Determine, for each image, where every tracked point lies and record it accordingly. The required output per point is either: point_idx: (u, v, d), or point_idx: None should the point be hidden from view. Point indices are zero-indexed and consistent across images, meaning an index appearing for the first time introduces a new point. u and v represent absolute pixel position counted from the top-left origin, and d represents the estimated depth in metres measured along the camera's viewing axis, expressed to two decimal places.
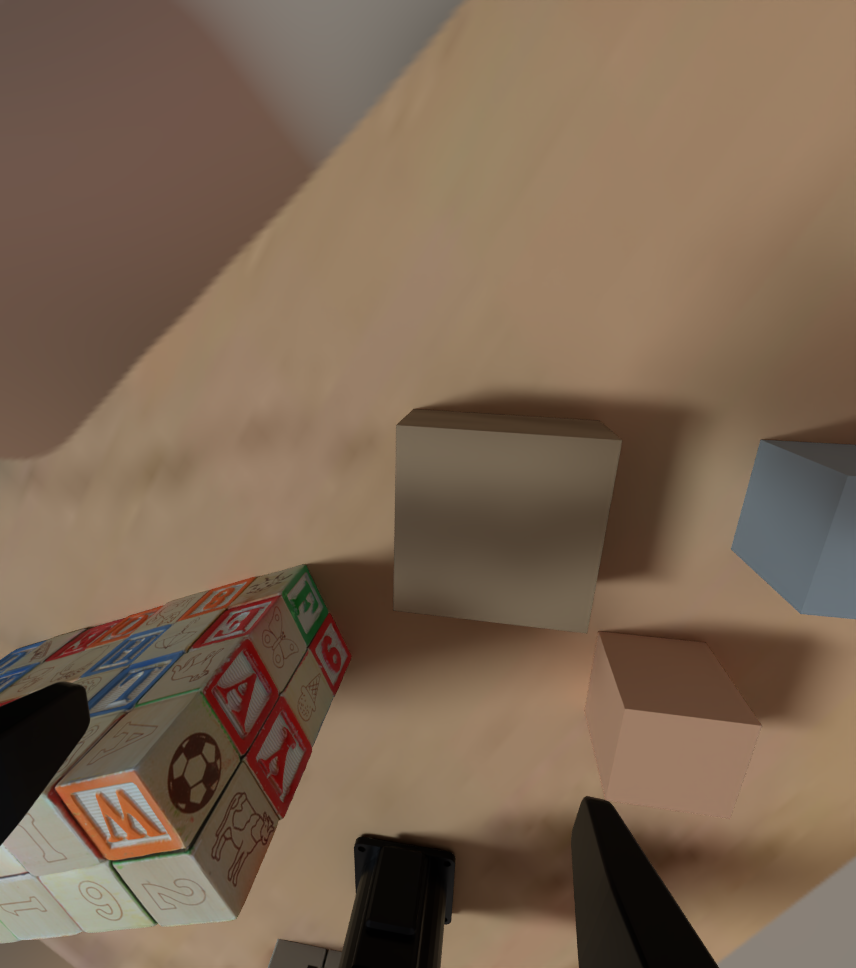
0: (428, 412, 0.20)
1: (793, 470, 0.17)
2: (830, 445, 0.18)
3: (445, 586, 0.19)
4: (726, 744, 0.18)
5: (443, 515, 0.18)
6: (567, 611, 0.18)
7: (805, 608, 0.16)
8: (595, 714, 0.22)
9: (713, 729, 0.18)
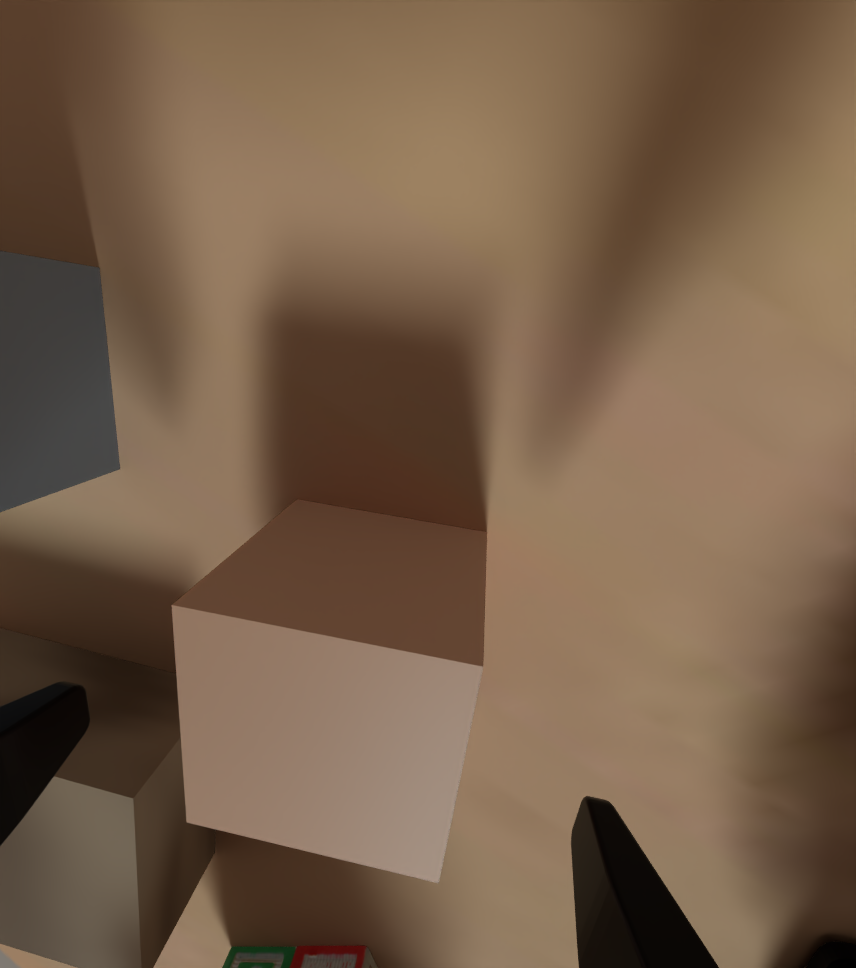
0: None
1: None
2: None
3: (92, 929, 0.13)
4: (238, 670, 0.07)
5: None
6: (99, 814, 0.11)
7: None
8: None
9: (202, 691, 0.08)
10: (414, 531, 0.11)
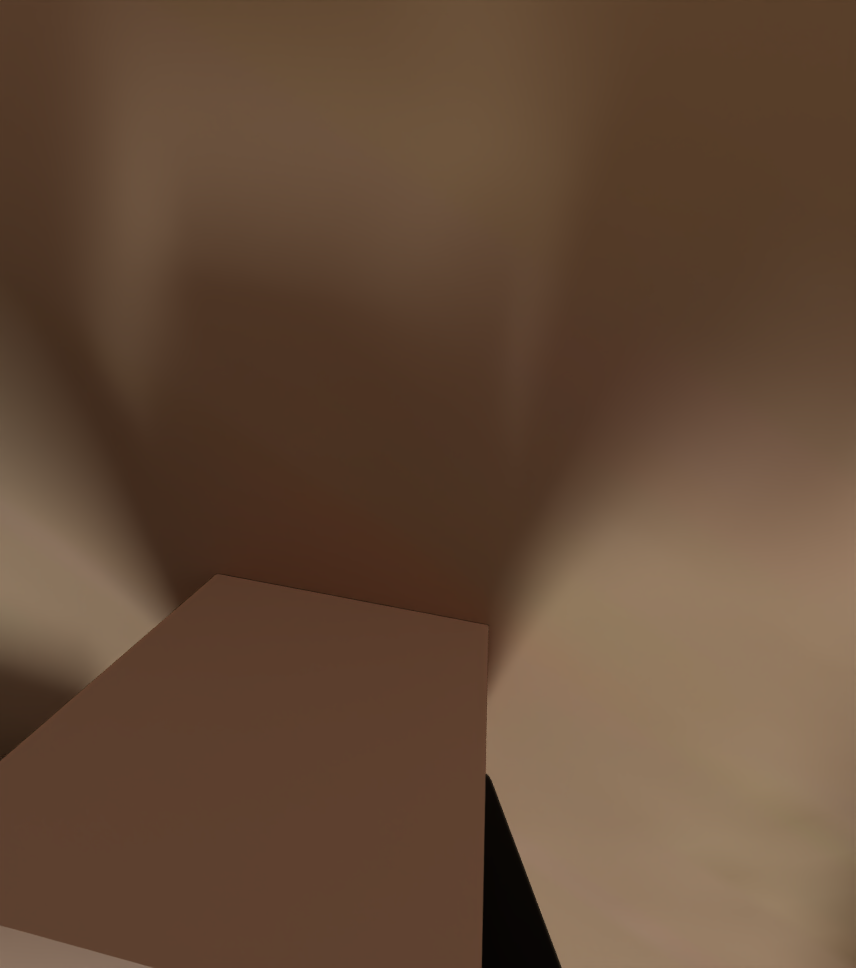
0: None
1: None
2: None
3: None
4: None
5: None
6: None
7: None
8: None
9: None
10: (379, 633, 0.07)
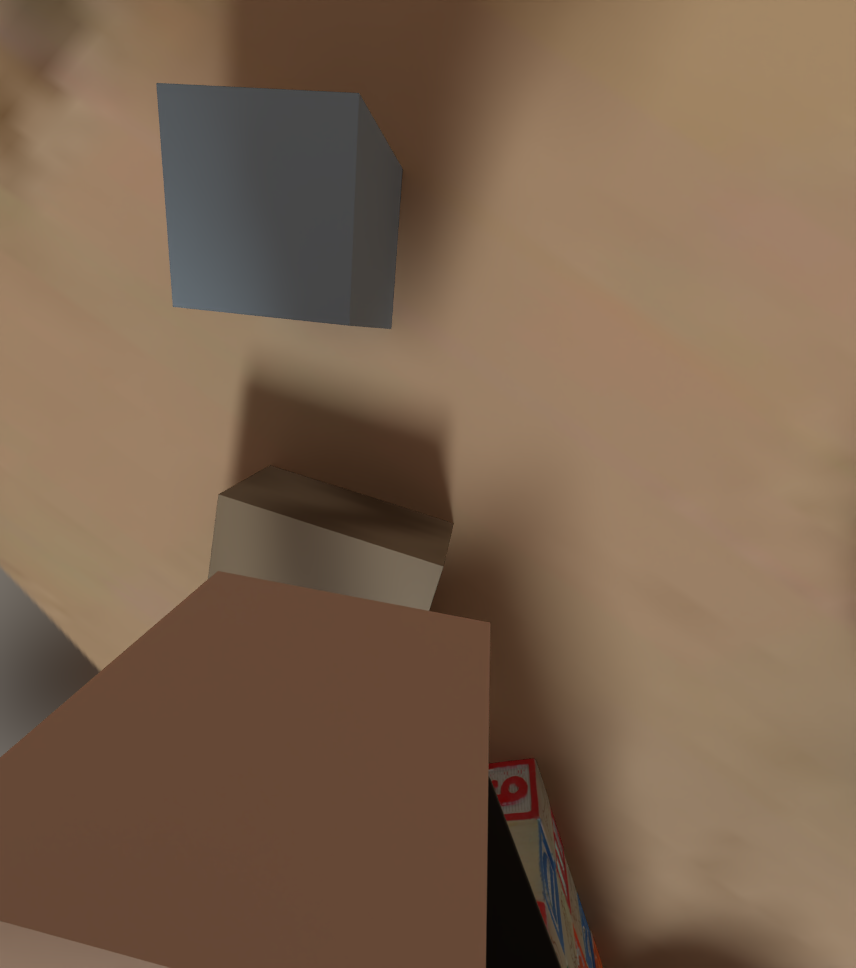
0: None
1: None
2: None
3: None
4: None
5: None
6: (410, 580, 0.15)
7: (342, 320, 0.12)
8: None
9: None
10: (381, 630, 0.07)
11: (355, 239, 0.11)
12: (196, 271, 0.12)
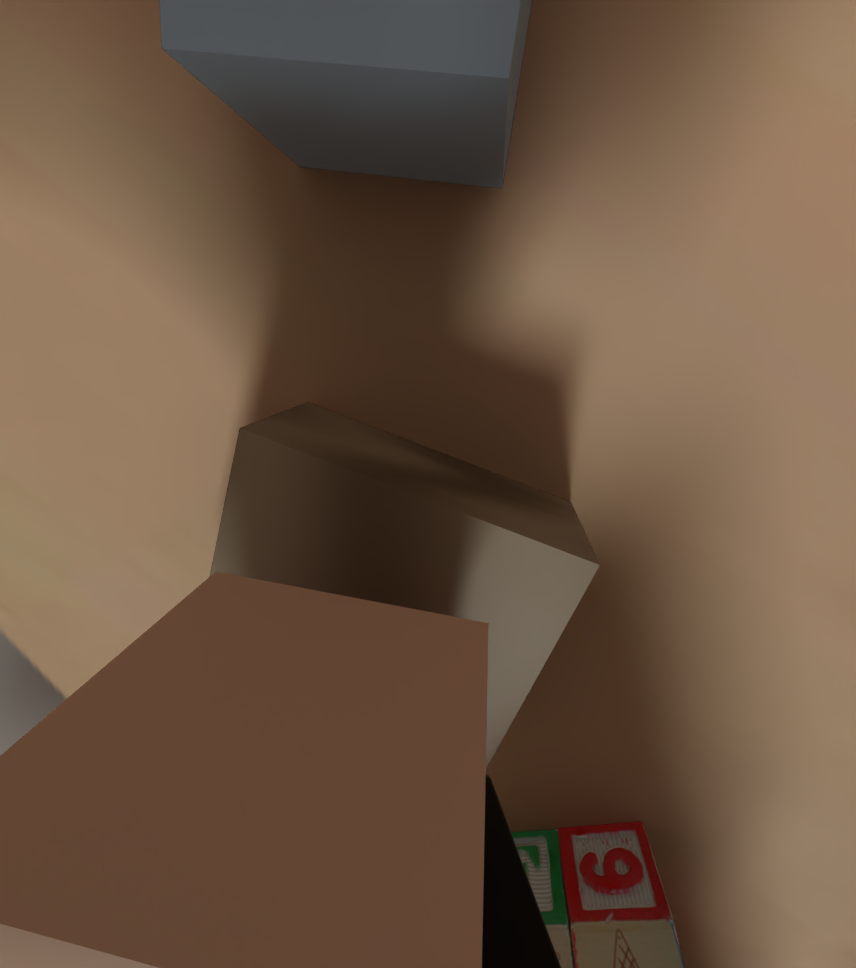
0: None
1: (276, 125, 0.09)
2: None
3: None
4: None
5: None
6: (540, 584, 0.10)
7: (494, 67, 0.06)
8: None
9: None
10: (379, 631, 0.07)
11: None
12: None
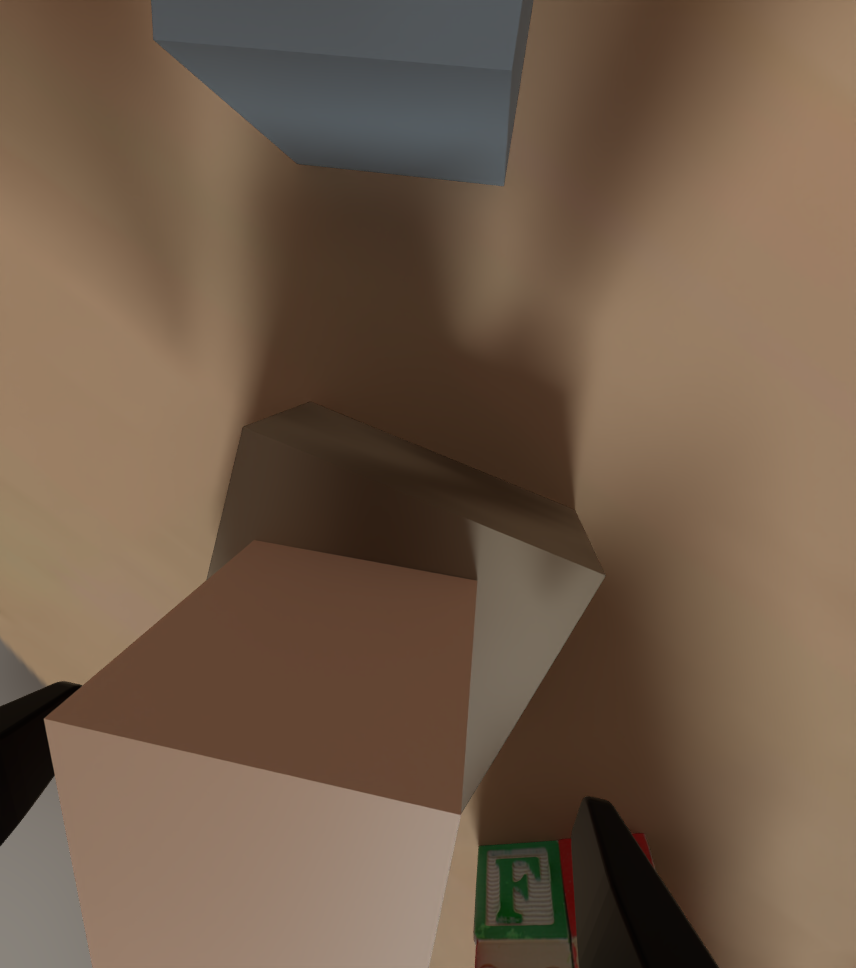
0: None
1: (273, 121, 0.09)
2: None
3: None
4: (137, 801, 0.06)
5: None
6: (544, 593, 0.10)
7: (497, 59, 0.06)
8: None
9: (94, 823, 0.06)
10: (389, 584, 0.09)
11: None
12: None
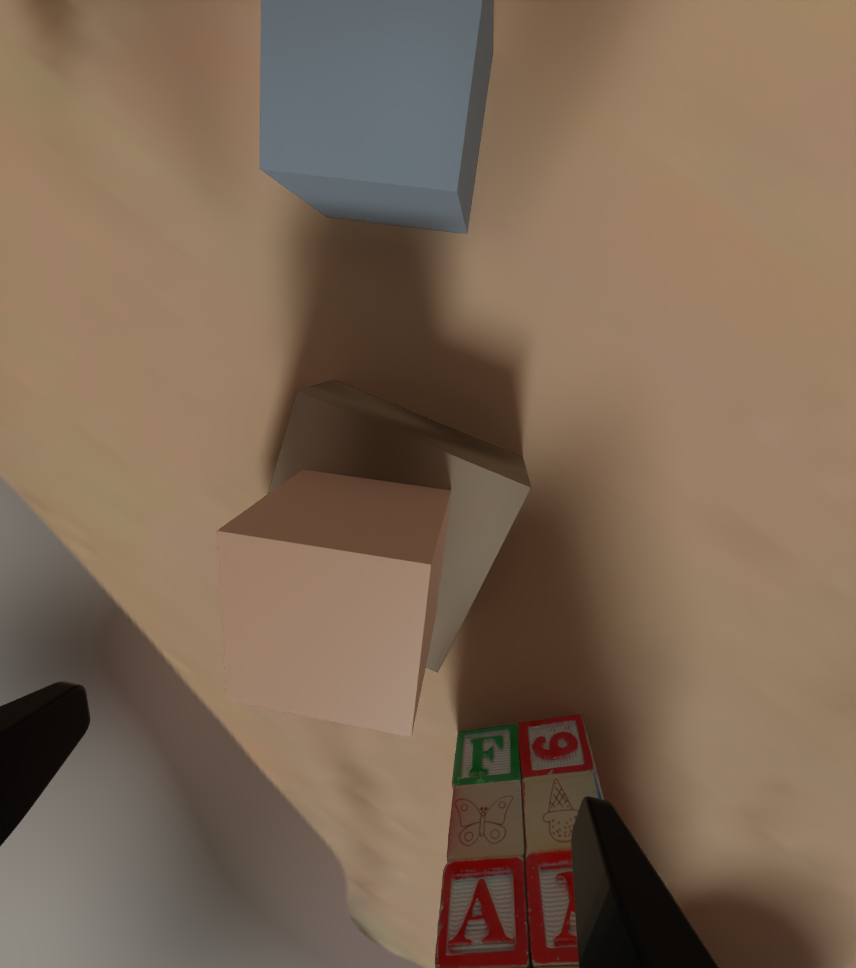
0: None
1: (317, 199, 0.14)
2: None
3: None
4: (263, 577, 0.11)
5: None
6: (492, 500, 0.15)
7: (449, 185, 0.11)
8: None
9: (238, 594, 0.11)
10: (393, 490, 0.14)
11: (471, 92, 0.11)
12: (289, 127, 0.11)
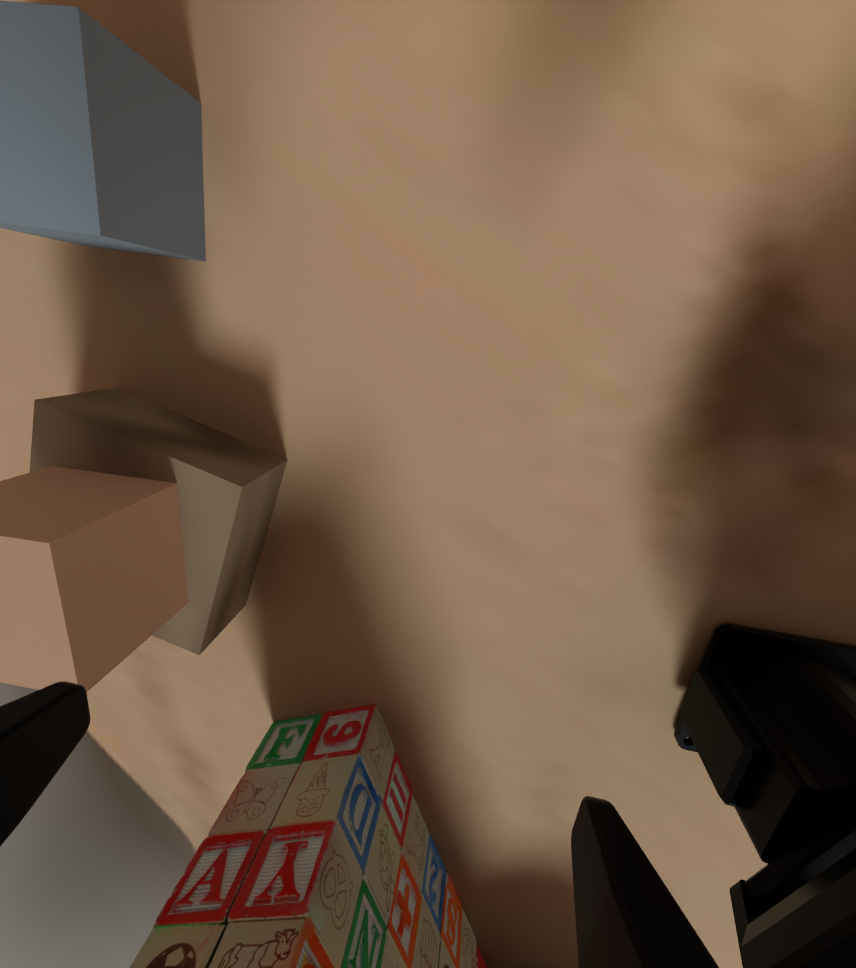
0: None
1: (40, 235, 0.15)
2: None
3: None
4: None
5: None
6: (213, 498, 0.16)
7: (94, 230, 0.13)
8: None
9: None
10: (115, 483, 0.16)
11: (99, 152, 0.12)
12: None
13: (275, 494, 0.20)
